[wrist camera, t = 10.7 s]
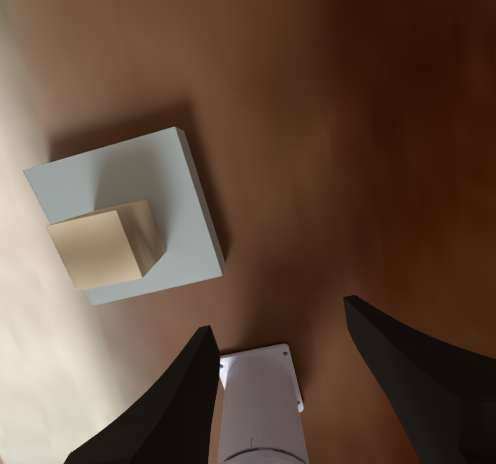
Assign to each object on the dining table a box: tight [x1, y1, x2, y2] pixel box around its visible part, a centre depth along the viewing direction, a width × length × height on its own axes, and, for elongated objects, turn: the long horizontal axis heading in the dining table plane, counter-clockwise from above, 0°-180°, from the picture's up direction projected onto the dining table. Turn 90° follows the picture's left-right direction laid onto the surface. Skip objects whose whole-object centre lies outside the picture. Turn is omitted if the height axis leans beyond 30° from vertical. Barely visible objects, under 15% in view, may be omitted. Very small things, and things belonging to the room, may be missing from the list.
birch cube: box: [45, 199, 166, 291], centre depth 17 cm, size 4×4×4 cm
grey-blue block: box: [23, 127, 225, 306], centre depth 20 cm, size 12×12×3 cm
